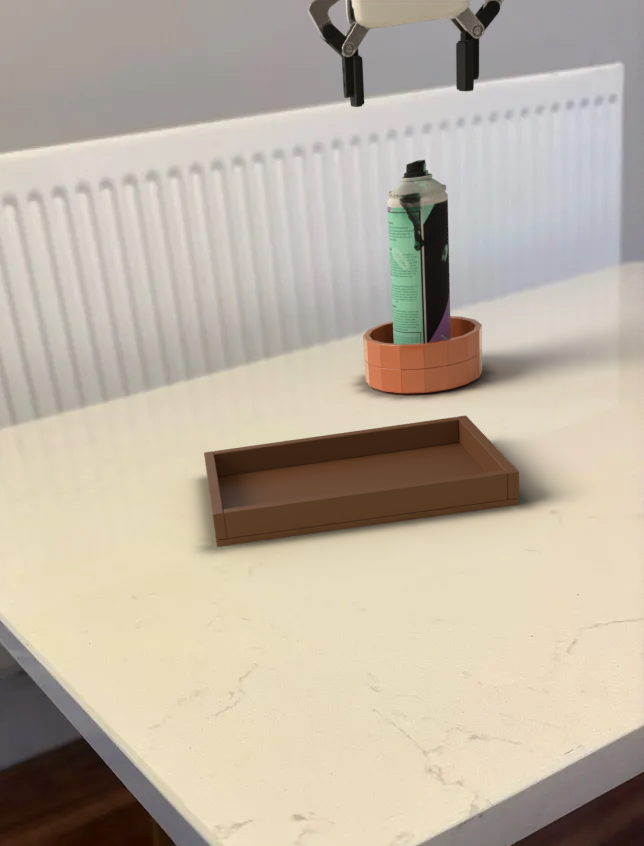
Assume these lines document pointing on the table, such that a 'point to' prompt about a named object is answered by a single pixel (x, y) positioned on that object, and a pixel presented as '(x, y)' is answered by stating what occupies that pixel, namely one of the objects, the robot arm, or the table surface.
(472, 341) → the bowl
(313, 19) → the robot arm
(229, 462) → the tray
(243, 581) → the table surface
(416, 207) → the spray can
